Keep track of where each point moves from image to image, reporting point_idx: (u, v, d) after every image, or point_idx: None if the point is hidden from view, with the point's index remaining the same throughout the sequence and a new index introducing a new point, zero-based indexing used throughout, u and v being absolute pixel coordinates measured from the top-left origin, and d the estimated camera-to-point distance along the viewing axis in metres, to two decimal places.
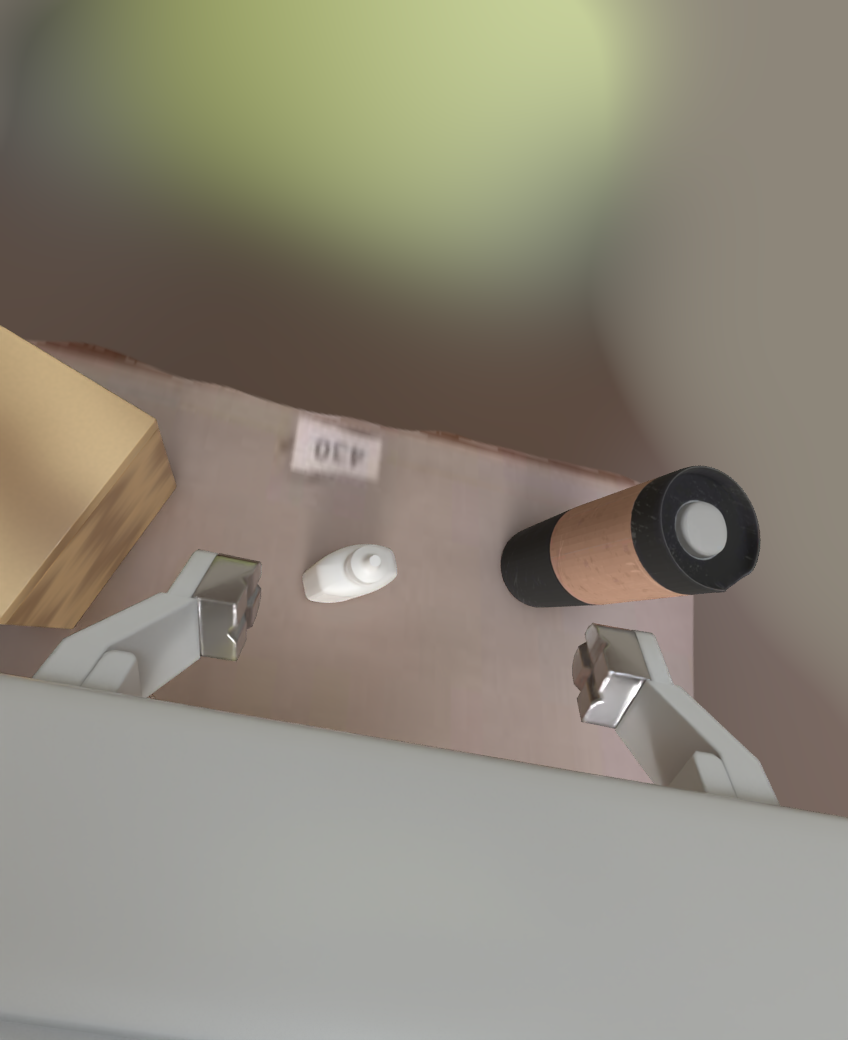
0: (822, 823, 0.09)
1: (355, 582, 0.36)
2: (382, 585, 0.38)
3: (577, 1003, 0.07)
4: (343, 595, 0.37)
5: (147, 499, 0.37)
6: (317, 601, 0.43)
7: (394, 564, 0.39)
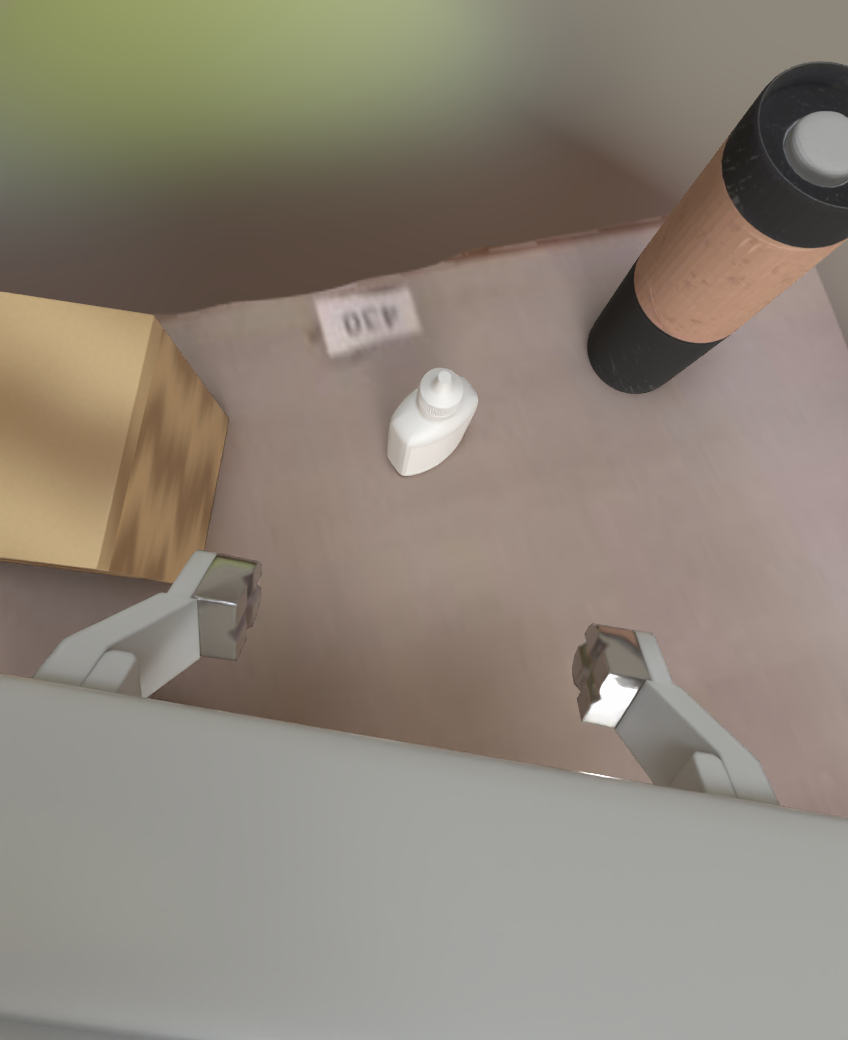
0: (822, 823, 0.09)
1: (436, 417, 0.32)
2: (467, 415, 0.34)
3: (578, 1004, 0.07)
4: (431, 441, 0.33)
5: (201, 430, 0.35)
6: (412, 473, 0.40)
7: (471, 388, 0.34)
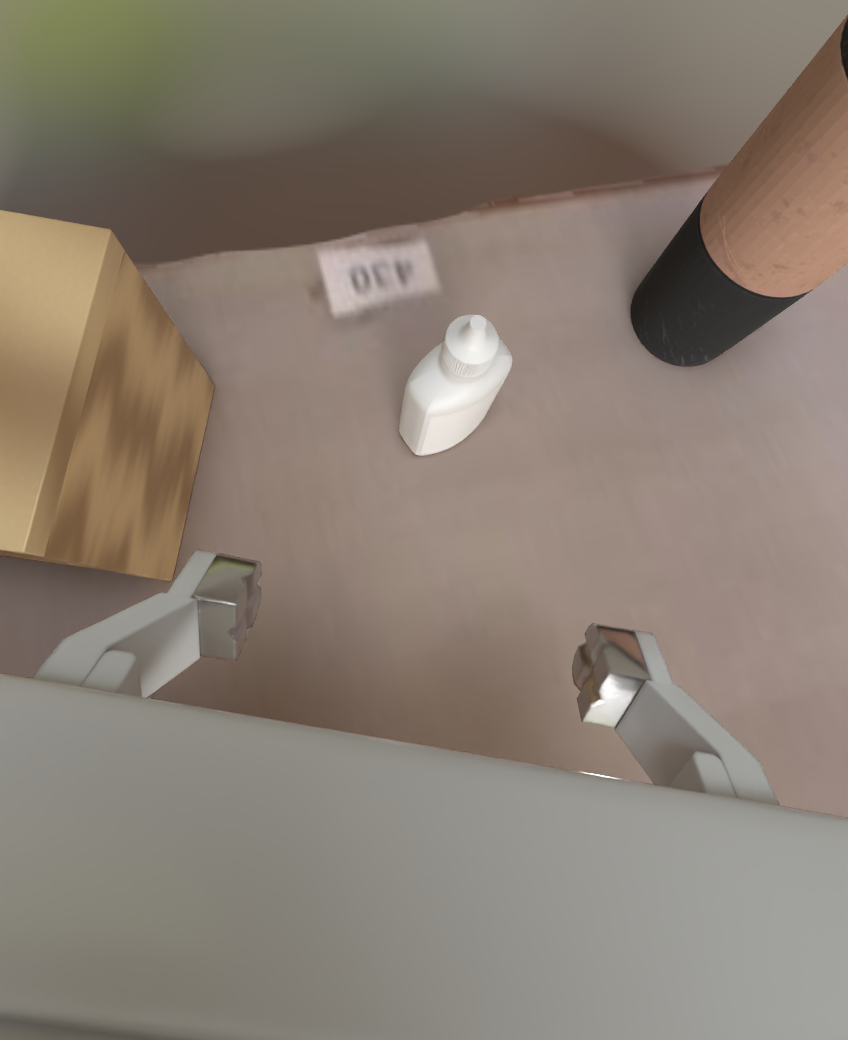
0: (822, 823, 0.09)
1: (463, 377, 0.26)
2: (499, 377, 0.28)
3: (578, 1003, 0.07)
4: (455, 408, 0.28)
5: (178, 392, 0.29)
6: (428, 452, 0.34)
7: (504, 346, 0.28)
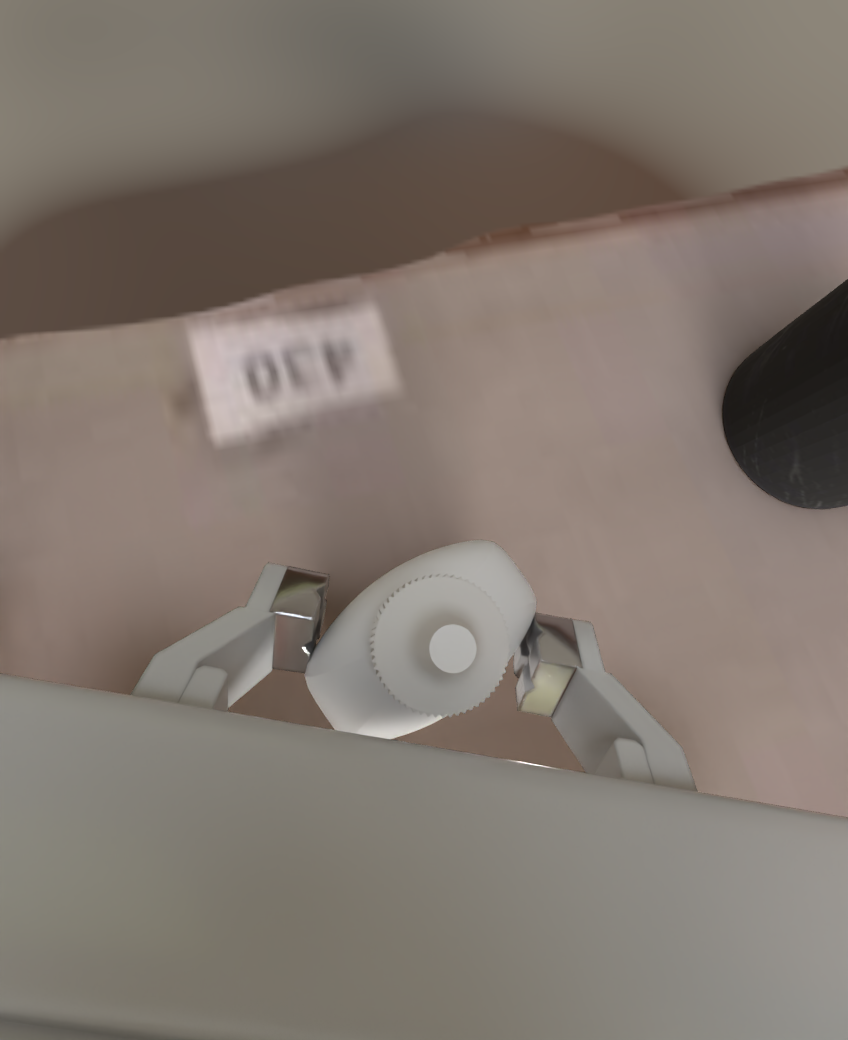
0: (822, 823, 0.09)
1: None
2: (510, 655, 0.13)
3: (577, 1003, 0.07)
4: (413, 731, 0.12)
5: None
6: None
7: (519, 581, 0.13)
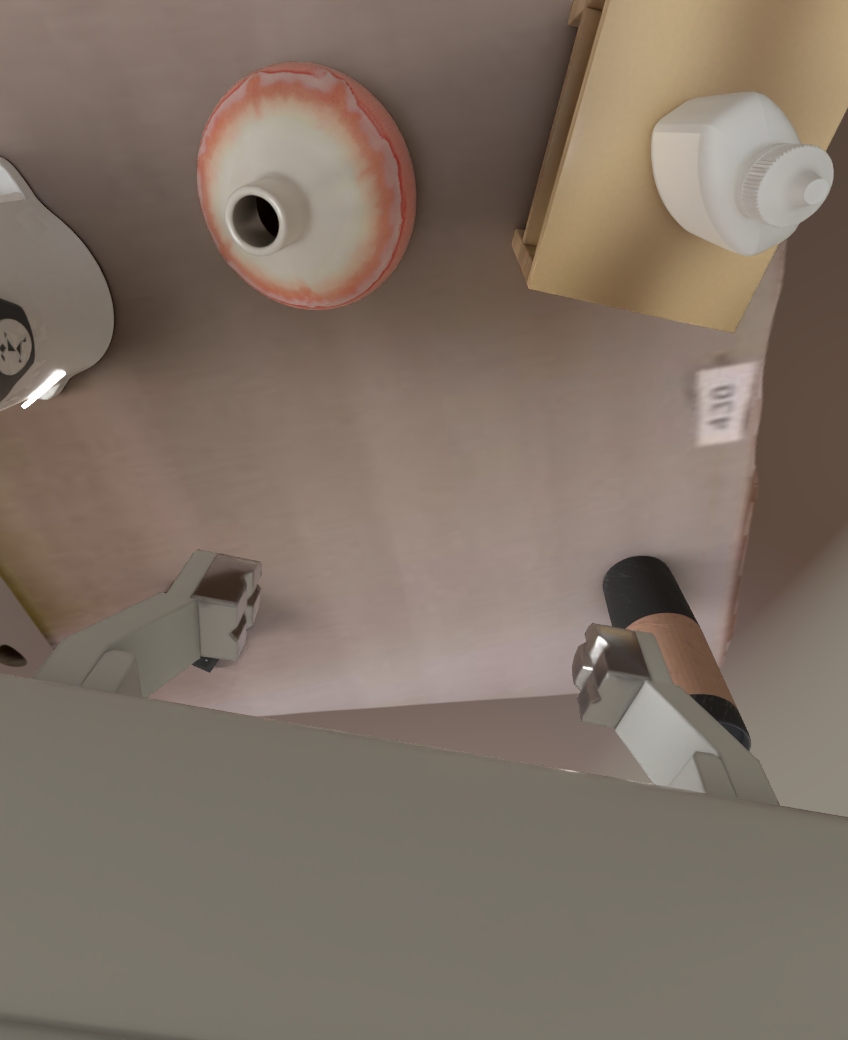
0: (822, 823, 0.09)
1: (743, 178, 0.20)
2: (729, 236, 0.22)
3: (578, 1003, 0.07)
4: (704, 170, 0.21)
5: None
6: (653, 144, 0.26)
7: (770, 244, 0.22)
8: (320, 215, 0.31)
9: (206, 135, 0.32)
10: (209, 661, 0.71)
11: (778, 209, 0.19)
